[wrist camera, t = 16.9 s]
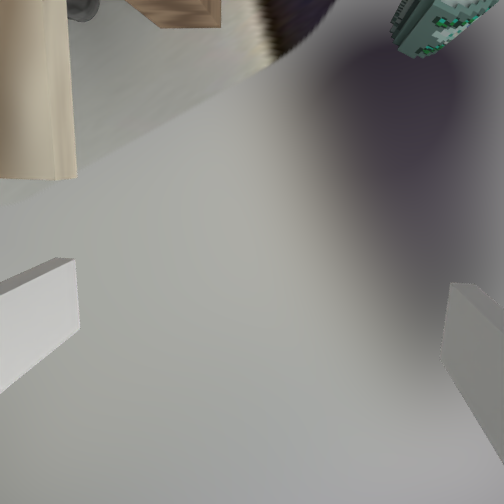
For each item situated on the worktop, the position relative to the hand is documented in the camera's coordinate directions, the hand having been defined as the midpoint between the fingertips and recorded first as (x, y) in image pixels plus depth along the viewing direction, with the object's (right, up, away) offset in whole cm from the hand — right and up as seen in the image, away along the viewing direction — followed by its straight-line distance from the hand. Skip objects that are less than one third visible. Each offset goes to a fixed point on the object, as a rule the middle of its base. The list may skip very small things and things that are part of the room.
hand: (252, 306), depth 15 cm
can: (+18, +26, +31) cm, 44 cm away
